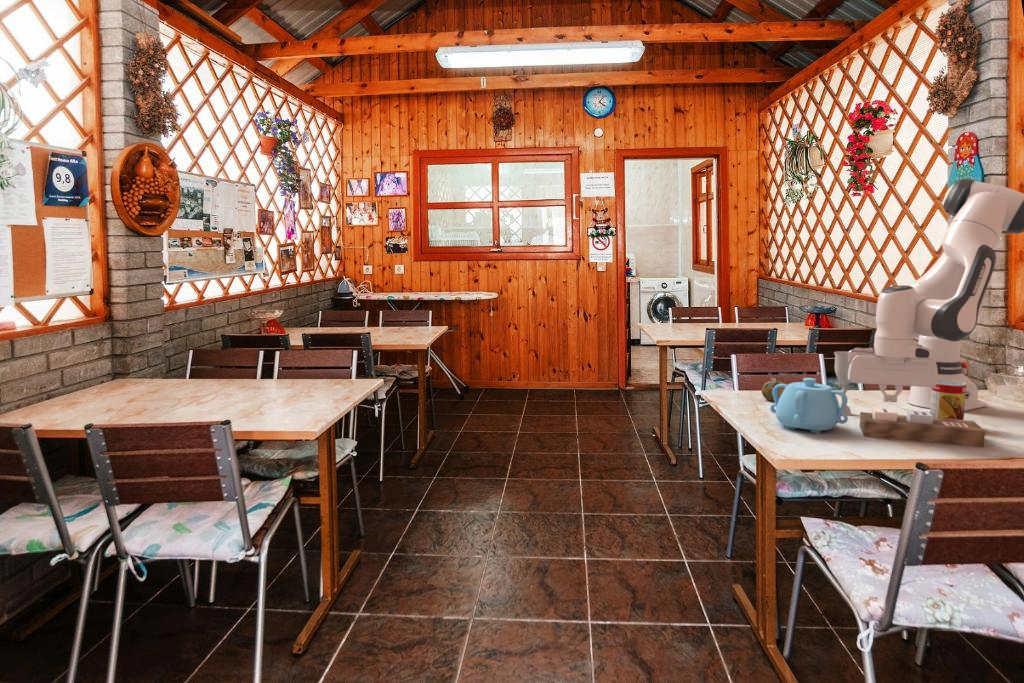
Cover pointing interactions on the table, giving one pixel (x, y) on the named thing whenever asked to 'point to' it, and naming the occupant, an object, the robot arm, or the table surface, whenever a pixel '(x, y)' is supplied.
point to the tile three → (954, 424)
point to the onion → (769, 387)
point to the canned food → (948, 400)
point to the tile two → (919, 417)
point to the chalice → (842, 374)
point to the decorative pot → (809, 406)
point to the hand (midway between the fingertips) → (889, 401)
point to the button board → (923, 430)
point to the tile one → (884, 414)
